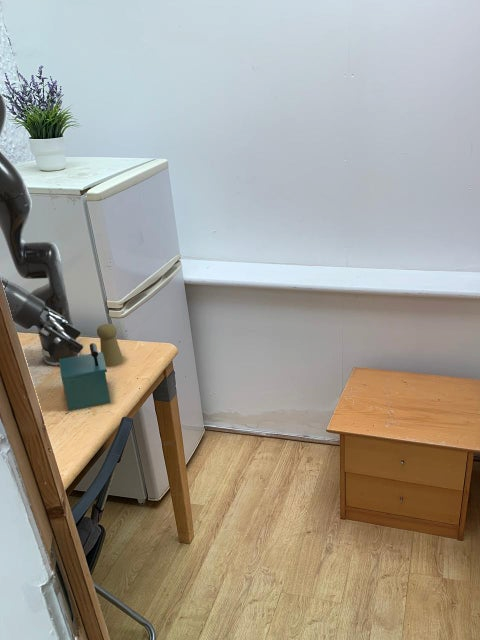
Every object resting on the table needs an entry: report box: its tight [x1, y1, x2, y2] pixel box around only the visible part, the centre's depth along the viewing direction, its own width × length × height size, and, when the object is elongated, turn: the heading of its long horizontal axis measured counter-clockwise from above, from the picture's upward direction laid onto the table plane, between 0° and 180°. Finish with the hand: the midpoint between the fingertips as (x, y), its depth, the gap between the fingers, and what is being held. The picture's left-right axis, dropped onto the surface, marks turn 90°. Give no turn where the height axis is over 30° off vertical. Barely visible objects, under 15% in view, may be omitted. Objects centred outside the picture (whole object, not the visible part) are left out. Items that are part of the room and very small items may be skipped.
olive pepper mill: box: [96, 323, 124, 367], centre depth 169 cm, size 6×6×11 cm
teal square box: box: [61, 372, 112, 412], centre depth 153 cm, size 10×10×9 cm
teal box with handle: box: [59, 342, 108, 381], centre depth 149 cm, size 10×10×5 cm
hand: (79, 342), depth 147 cm, fingers open, 8 cm apart
